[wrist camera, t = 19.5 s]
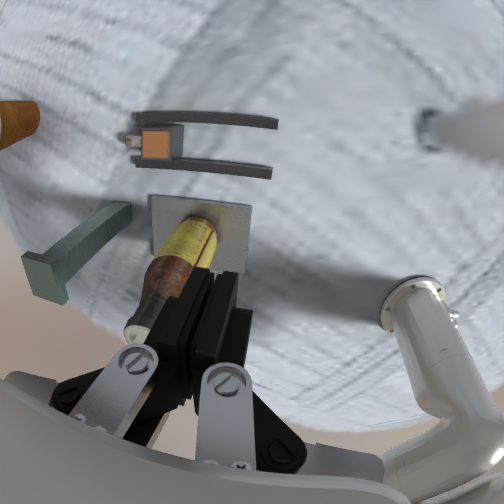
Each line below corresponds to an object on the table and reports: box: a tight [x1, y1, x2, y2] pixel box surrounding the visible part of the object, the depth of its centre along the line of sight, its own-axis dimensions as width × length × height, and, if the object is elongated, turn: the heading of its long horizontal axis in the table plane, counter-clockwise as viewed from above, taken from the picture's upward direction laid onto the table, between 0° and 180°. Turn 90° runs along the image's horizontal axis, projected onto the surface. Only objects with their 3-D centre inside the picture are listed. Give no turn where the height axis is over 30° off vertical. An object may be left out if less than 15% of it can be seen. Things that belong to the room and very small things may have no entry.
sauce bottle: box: [124, 217, 218, 345], centre depth 31 cm, size 7×6×20 cm
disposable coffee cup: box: [0, 101, 40, 150], centre depth 28 cm, size 10×10×12 cm
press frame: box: [21, 112, 279, 305], centre depth 29 cm, size 24×22×19 cm
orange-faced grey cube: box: [125, 125, 184, 161], centre depth 32 cm, size 7×4×4 cm, turn 84°
